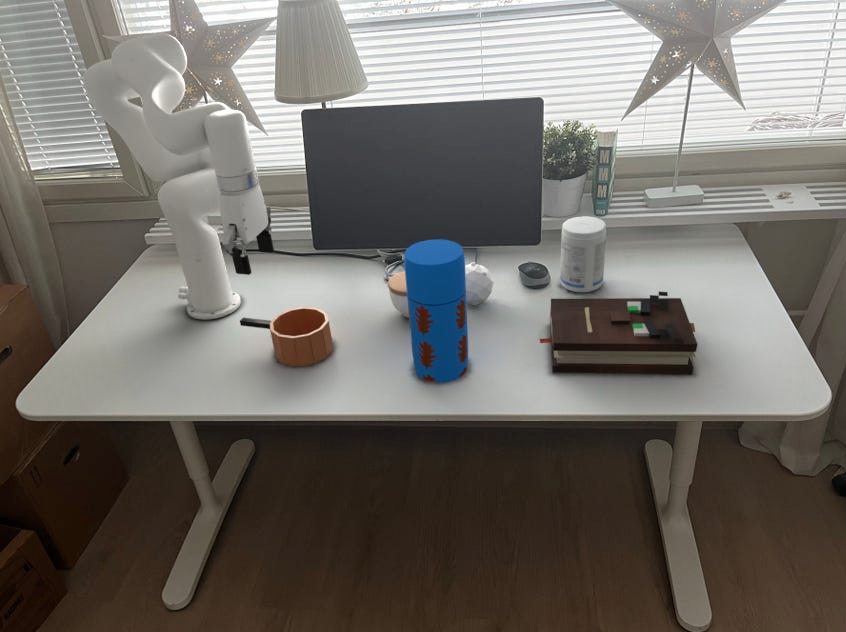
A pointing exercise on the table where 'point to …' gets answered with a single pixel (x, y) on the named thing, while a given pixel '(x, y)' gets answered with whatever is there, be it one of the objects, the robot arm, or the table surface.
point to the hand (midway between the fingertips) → (255, 262)
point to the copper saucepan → (298, 335)
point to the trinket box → (399, 293)
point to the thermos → (437, 309)
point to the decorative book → (621, 336)
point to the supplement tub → (582, 254)
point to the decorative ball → (477, 283)
